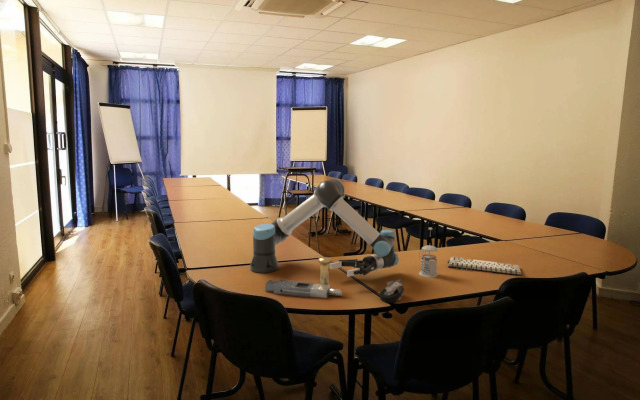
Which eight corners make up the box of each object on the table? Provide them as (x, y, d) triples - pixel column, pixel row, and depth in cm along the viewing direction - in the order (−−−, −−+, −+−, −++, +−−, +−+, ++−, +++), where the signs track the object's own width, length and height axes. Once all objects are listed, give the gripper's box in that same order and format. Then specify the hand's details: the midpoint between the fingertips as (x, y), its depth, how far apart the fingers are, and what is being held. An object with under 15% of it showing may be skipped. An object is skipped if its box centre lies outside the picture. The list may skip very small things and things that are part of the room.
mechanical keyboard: (519, 268, 230) (519, 262, 229) (522, 278, 212) (522, 272, 212) (448, 260, 243) (448, 255, 243) (446, 270, 225) (446, 264, 225)
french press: (427, 278, 209) (429, 229, 205) (412, 271, 219) (414, 225, 216) (442, 275, 213) (444, 228, 210) (426, 269, 224) (428, 224, 220)
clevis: (263, 292, 187) (263, 285, 186) (270, 286, 196) (270, 278, 195) (339, 300, 179) (339, 292, 178) (343, 293, 187) (343, 285, 187)
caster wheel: (383, 308, 177) (378, 296, 186) (409, 303, 176) (403, 291, 186) (380, 295, 175) (376, 283, 184) (407, 289, 175) (401, 278, 184)
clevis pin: (317, 289, 192) (317, 259, 190) (320, 285, 197) (320, 256, 195) (328, 290, 191) (329, 260, 189) (331, 286, 196) (331, 257, 194)
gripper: (389, 276, 199) (355, 284, 187) (356, 264, 220) (323, 270, 208) (389, 261, 198) (355, 269, 186) (357, 250, 219) (324, 256, 207)
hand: (338, 269), depth 197 cm, fingers open, 13 cm apart
